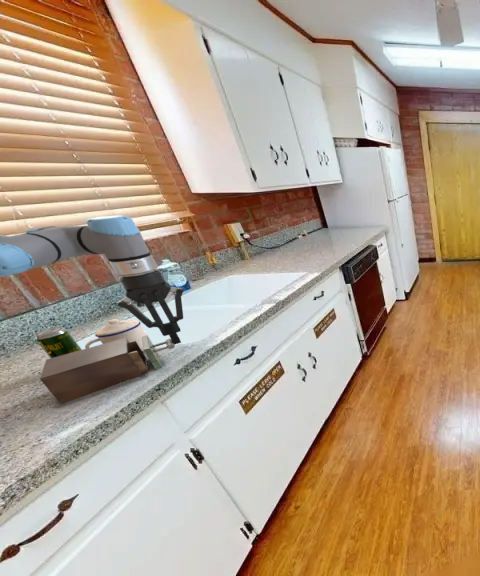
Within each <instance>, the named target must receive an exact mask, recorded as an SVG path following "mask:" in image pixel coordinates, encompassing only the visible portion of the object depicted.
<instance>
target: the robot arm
mask: <svg viewBox="0 0 480 576" xmlns="http://www.w3.org/2000/svg"><path fill="white" fill-rule="evenodd" d="M85 223H86V225H69V226H65V225H63V226H55V225H51V226H50V225H49V226H44V227H35V228H31V229H28V230H27V231H26V232H24V233H20V234H15V235H3V234H0V278H5V277H7V276H13V275H14V276H15V275H19V274H22V273H25V272H27V271H30V270H34V269H37V268H41V267H43V266H46V265H50V264H54V263H58V262H62V261H65V260H68V259H71V258H75V257H79V256H89V255H91V256H92V255H103V254H104V256H105V257H106V259H107V260H108V262H109V264H110V266H111V267H112V269H113V271H114V272H115V274H116V275H117V276H118V279H119V281H120V283H121V284H122V286H123V288H124V289H125V297H123V298H122V299H119V300H118V301H117V306H118V307H121V308H123V309H125V310H127V311H128V312H129V313H131V314H132V315H133V316H134V317H135V318H136V319H137V320H138V321H139V322H140V323H141V324H143V325H144V326H146V327H147V328H148V329H152V328H158V329H159V331H160V333H161V335H162V336H163V337H167V336H169V339H171V340H172V341H173V343H174V345H175V346H176V345H178V344H181V343H182V341H181V338H180V337H179V335H178V333H180V332H181V327H180V326H179V324H178V322H180V321H181V320H183V319H184V310H183V302H182V295H183V294H184V289H183V287H181V286H178V287H177V286H176V287H175V286H171V285H170V284H169V283H167V282H166V280H165V278H164V277H163V274H162V272H161V270H160V269H158V265H157V263H156V261H155V259H154V256H153V255H152V253H151V252H150V250H149V249H148V246H147V244H146V243H145V239H144V238H143V236H142V233H141V230H140V229H139V228H138V226H137V225H136V224H135V222H134V220H133V219H132V218H131V217H130V216H128V215H105V216H104V215H103V216H95V217H90V218H87V220H86V222H85ZM170 292H171V294H172V295H174V305H175V313H176V315H174V314H173V312H172V310H171V308H170V307H169V305H168V303H167V301H166V299H167V297H168V295H169V293H170ZM133 301H134V302H137V303H140V304H144V305H145V307H146V308H147V311H148V312H149V314H150V317H152V319H153V321H152V320H151V319H150V318H149V317H148V316H147V315H145V314H144V313H143V312H142V311H141V310H140V309H139V308H138V307H136V306H135V305H134V303H133ZM154 303H159V305H160V307H161V309H162V311H163V313H164V314H165V315H166V318H167V320H168V322H165V323H164V321H163V320H162V318H161V316H160V314H159V313H158V311H157V309H156V308H155V305H154Z"/></svg>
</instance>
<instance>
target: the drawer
mask: <svg viewBox="0 0 480 576" xmlns="http://www.w3.org/2000/svg"><path fill="white" fill-rule="evenodd" d="M142 342H143V349H144V351H142V350H141V348H140V347H139V345H138V343H137V342H136V340H135V341H131V342H128V354H129V355H130V357H131V359H132V360H133V362H134V363H135V365H136V366H137V368H138V369H139V371H140V372H141V374H142V373H146V372H148V371H149V363H148V360H149V361H150V363H151V364H152V366H153V368H154V370H159V369H162V368H163V366H162V361H161V358H160V354H159V352H161V351H164V350H167V349H168V350H172V349H175V348H176V347H175V346H176V344H175V345H174V343H173V341H172V340H171V338H167V339H166V340H165V341H163V342H159V343H155V344H154V343H153V342H152V340H151V338H150V337H149V335H148V334H147V336H143V337H142ZM163 345H166V346H163ZM159 346H162V347H160V348H156V347H159ZM147 358H148V359H147Z"/></svg>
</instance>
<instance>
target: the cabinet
mask: <svg viewBox="0 0 480 576" xmlns="http://www.w3.org/2000/svg"><path fill="white" fill-rule="evenodd" d="M128 342H129V341H128V340H127V338H123V339H119V340H116V341H112V342H108V343H105V344H102V343H101V344H97V345H95V346H94V345H93V346H91V347H90V346H89V348H87V349H86V348H83V349H82V350H79V351H76V352H72V353H69V354H65V355H61V356H58V357H54V358H50V357H49V358H48V359H45V362H44V365H43V368H42V371H41V374H40V377H39V380H40V381H41V382H42V384H44V386H45V387H46V389H48V391H49V392H50V393H51V394H52V396H53V397H54V398H55V399H56V401H57V402H58V403H59V405H64V404H66V403H69V402H73V401H75V400H77V399H80V398H83V397H86V396H89V395H92V394H95V393H97V392H100V391H104V390H106V389H108V388H112V387H114V386H117V385H120V384H123V383H126V382H128V381H132V380H134V379H137V378H139V377H142V376H143V374H142V373H141V372H140V371H139V369H138V368H137V366H136V365H135V363H134V362H133V360H132V359H131V357H130V355H129V354H128Z"/></svg>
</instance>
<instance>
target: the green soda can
mask: <svg viewBox="0 0 480 576" xmlns="http://www.w3.org/2000/svg"><path fill="white" fill-rule="evenodd" d="M33 336H34V339H35V341H36V342H37V344H38V345H39V346H40V347H41V348H42V350H43V352H45V353H46V354H47V355H48V357H49V359H50V358H54V357H58V356H61V355H65V354H69V353H72V352H76V351H79V350H83V349H82V348H81V346H80V345H79V344H78V342H77V341H76V340H75V338H74V337H73V336H72V335H71V334H70V332H69V331H68V330H67V329H66V328H65V327H64V326H58V327H52V328H48V329H45V330H41V331H39V332H37V333H35V334H34V335H33Z"/></svg>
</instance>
